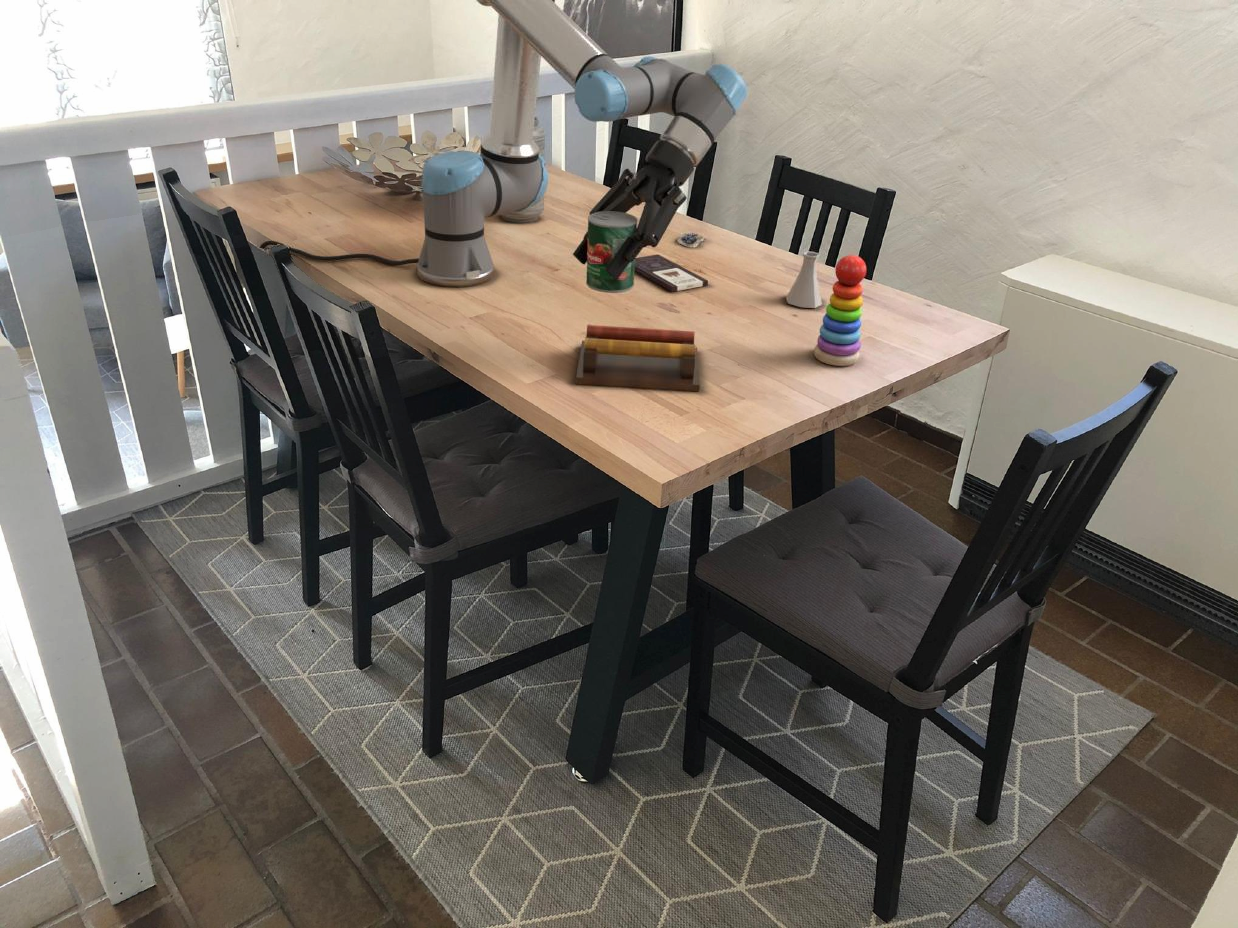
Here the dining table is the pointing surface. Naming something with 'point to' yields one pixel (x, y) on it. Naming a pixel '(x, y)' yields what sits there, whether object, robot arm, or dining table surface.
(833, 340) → the stacking toy
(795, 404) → the dining table surface
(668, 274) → the chocolate bar
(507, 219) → the vase
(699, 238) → the blueberries
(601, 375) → the rod stand
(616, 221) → the canned tomato
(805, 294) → the flask
